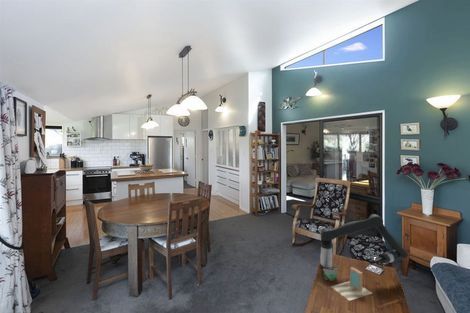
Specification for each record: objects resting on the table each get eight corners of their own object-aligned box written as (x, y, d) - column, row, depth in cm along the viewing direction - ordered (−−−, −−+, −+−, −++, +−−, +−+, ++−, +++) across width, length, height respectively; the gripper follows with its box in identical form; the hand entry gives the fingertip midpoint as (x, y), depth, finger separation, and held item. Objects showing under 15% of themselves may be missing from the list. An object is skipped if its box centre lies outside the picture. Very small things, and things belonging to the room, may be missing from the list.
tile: (349, 285, 185) (349, 267, 184) (352, 284, 186) (352, 266, 185) (359, 292, 177) (359, 273, 176) (362, 291, 178) (362, 272, 177)
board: (330, 288, 184) (330, 286, 184) (352, 281, 192) (352, 280, 192) (349, 302, 168) (349, 300, 167) (372, 294, 175) (372, 293, 175)
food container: (327, 284, 190) (327, 271, 189) (323, 279, 196) (323, 267, 195) (341, 282, 192) (341, 269, 191) (336, 277, 198) (336, 266, 197)
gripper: (378, 250, 198) (362, 254, 192) (394, 257, 185) (377, 261, 179) (378, 259, 198) (362, 263, 192) (394, 266, 186) (377, 271, 180)
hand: (370, 262), depth 186 cm, fingers closed
